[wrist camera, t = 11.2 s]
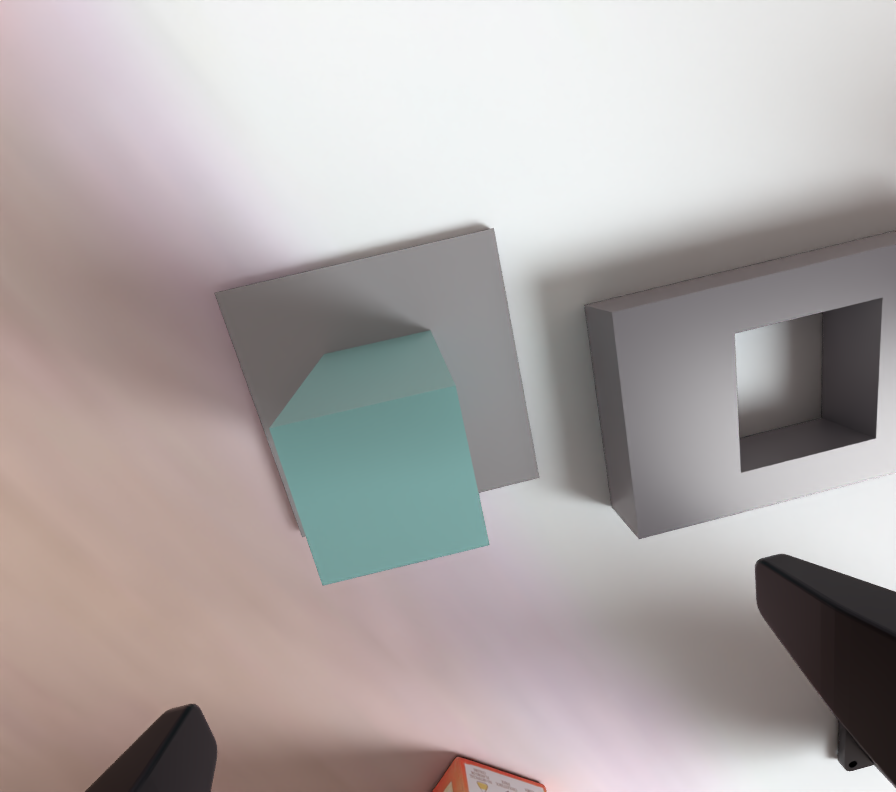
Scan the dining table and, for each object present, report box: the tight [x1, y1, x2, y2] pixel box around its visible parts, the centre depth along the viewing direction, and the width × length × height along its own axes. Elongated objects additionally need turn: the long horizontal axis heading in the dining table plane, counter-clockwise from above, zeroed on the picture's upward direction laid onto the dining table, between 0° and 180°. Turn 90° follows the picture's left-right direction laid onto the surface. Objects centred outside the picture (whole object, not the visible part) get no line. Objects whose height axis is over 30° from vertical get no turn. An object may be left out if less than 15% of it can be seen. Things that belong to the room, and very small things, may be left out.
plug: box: [269, 330, 489, 585], centre depth 15 cm, size 4×4×8 cm
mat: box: [215, 228, 539, 537], centre depth 19 cm, size 10×10×1 cm
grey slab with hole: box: [584, 231, 896, 539], centre depth 19 cm, size 9×14×2 cm, turn 102°
